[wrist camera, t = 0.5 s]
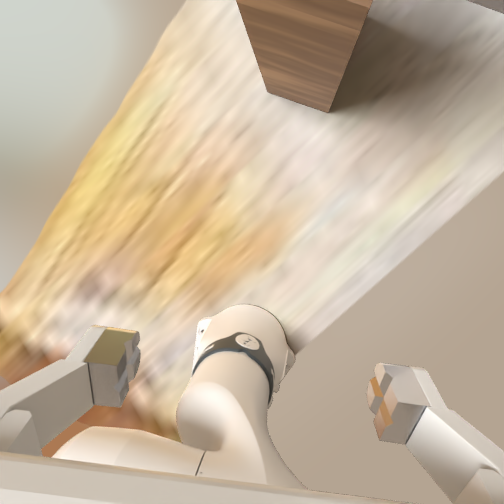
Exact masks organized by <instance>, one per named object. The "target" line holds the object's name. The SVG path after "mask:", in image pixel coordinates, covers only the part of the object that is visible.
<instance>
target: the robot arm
mask: <svg viewBox="0 0 504 504" xmlns="http://www.w3.org/2000/svg"><path fill="white" fill-rule="evenodd" d="M202 330H204V331H202ZM139 341H140V336H139V332H138V331H132V330H126V329H120V328H113V327H104V326H98V325H93V326H91V327H90V328H89V329H88V330H87V332H86V333H85V334H84V336H83V337H82V338H81V340H80V341H79V342H78V344H77V345H76V346H75V348H74V349H73V350H72V351H71V353H70V354H69V355H68V357H67V358H66V359H65V360H61V359H60V360H58V361H57V362H55V363H53V364H51V365H49V366H47V367H45V368H43V369H41V370H39V371H37V372H35V373H33V374H32V375H30V376H28V377H26V378H24V379H22V380H20V381H18V382H16V383H14V384H12V385H10V386H9V387H7V388H5V389H3V390H1V391H0V504H416V503H409V502H400V501H393V500H385V499H377V498H369V497H361V496H353V495H345V494H337V493H329V492H321V491H313V490H308V489H307V488H306V487H305V486H304V485H303V484H302V483H301V482H300V481H299V480H298V479H297V478H296V477H295V476H294V474H293V473H292V472H291V471H290V469H289V468H288V467H287V466H286V464H285V463H284V461H283V460H282V458H281V457H280V455H279V453H278V451H277V450H276V448H275V446H274V444H273V442H272V440H271V438H270V435H269V433H268V429H267V409H268V408H269V407H270V406H271V404H272V401H273V397H272V394H273V392H276V393H277V392H278V390H279V388H280V385H279V384H280V382H281V381H282V380H283V378H284V377H285V375H286V374H287V373H288V371H289V370H290V368H291V367H292V365H293V364H294V363H295V355H294V353H293V352H292V350H291V349H290V348H289V346H288V345H287V342H286V338H285V334H284V331H283V329H282V327H281V325H280V323H279V322H278V321H277V319H276V318H275V317H274V316H273V315H272V314H270V313H269V312H268V311H266V310H264V309H262V308H260V307H257V306H254V305H247V304H241V305H234V306H231V307H228V308H226V309H224V310H223V311H221V312H220V313H218V314H217V315H215V316H210V317H205V318H202V319H201V320H200V321H199V323H198V326H197V334H196V343H195V351H194V359H193V367H192V376H191V380H190V381H189V383H188V385H187V387H186V389H185V390H184V392H183V394H182V396H181V398H180V400H179V402H178V406H177V411H176V422H177V428H178V432H179V435H180V439H181V441H182V443H180V442H177V441H174V440H171V439H167V438H164V437H161V436H158V435H155V434H152V433H149V432H146V431H143V430H136V429H127V428H116V427H100V426H93V427H90V428H88V429H86V430H84V431H82V432H80V433H79V434H77V435H76V436H74V437H73V438H71V439H70V440H69V441H68V442H67V443H65V444H64V445H63V446H62V447H61V448H60V449H59V450H58V451H57V452H56V453H55V454H54V456H53V457H52V458H51V457H43V455H42V451H41V449H42V448H43V447H44V446H45V445H46V444H47V443H49V442H50V441H51V440H53V439H54V438H55V437H56V436H57V435H59V434H60V433H61V432H62V431H64V430H65V429H66V428H67V427H69V426H70V425H71V424H72V423H74V422H75V421H76V420H77V419H79V418H80V417H81V416H82V415H83V414H85V413H86V412H87V411H88V410H90V409H91V408H92V407H93V405H101V406H111V407H121V405H122V403H123V401H124V399H125V397H126V395H127V393H128V391H129V385H128V382H130V381H131V380H133V379H134V378H135V375H136V373H137V371H138V367H139V363H140V349H139V348H138V347H137V345H138V343H139ZM286 363H287V365H286ZM374 373H375V375H376V376H375V377H374V378H372V379H371V380H370V381H369V384H368V387H367V401H368V405H369V408H370V410H371V411H372V412H373V413H374V414H375V415H376V416H375V419H374V425H375V428H376V431H377V434H378V438H379V440H380V441H386V442H393V443H399V444H405V445H406V447H407V448H408V450H409V451H410V452H411V453H412V454H413V456H414V457H415V458H416V459H417V460H418V462H419V463H420V464H421V465H422V466H423V468H424V469H425V470H426V471H427V473H428V474H429V475H430V476H431V477H432V479H433V480H434V481H435V482H436V484H437V485H438V486H439V487H440V488H441V489H442V491H443V492H444V493H445V494H446V496H447V497H448V498H449V499H450V501H451V502H452V503H453V504H504V451H502V450H501V449H500V448H499V447H498V446H496V445H495V444H494V443H493V442H492V441H490V440H489V439H488V438H487V437H485V436H484V435H483V434H482V433H481V432H479V431H478V430H477V429H476V428H474V427H473V426H472V425H471V424H469V423H468V422H467V421H466V420H465V419H463V418H462V417H461V416H460V415H458V414H457V413H456V412H455V411H453V410H449V409H448V408H447V406H446V405H445V403H444V401H443V399H442V397H441V395H440V394H439V392H438V390H437V389H436V386H435V385H434V383H433V381H432V379H431V377H430V376H429V374H428V372H427V370H425V369H424V368H421V367H413V366H403V365H395V364H386V363H378V364H377V365H376V367H375V369H374Z"/></svg>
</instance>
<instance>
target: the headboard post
mask: <svg viewBox="0 0 504 504" xmlns="http://www.w3.org/2000/svg"><path fill="white" fill-rule="evenodd" d="M372 1H373V0H236V2H237V5H238V7H239V10H240V13H241V16H242V19H243V22H244V25H245V28H246V31H247V34H248V37H249V39H250V42H251V45H252V48H253V51H254V54H255V57H256V60H257V63H258V66H259V69H260V72H261V74H262V77H263V80H264V83H265V86H266V89H267V92H269V93H272V94H275V95H277V96H280V97H283V98H286V99H289V100H292V101H295V102H297V103H300V104H303V105H306V106H309V107H312V108H315V109H318V110H320V111H323V112H326V113H328V112H329V109H330V107H331V104H332V102H333V99H334V97H335V94H336V92H337V89H338V87H339V84H340V82H341V79H342V77H343V74H344V72H345V69H346V67H347V64H348V62H349V59H350V57H351V54H352V52H353V49H354V46H355V44H356V41H357V39H358V36H359V34H360V31H361V29H362V26H363V24H364V21H365V19H366V16H367V14H368V11H369V9H370V6H371V4H372Z"/></svg>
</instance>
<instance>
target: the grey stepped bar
mask: <svg viewBox="0 0 504 504" xmlns="http://www.w3.org/2000/svg"><path fill="white" fill-rule="evenodd" d="M468 1H470V2H473V3H476V4H479V5H481V6H484V7H487V8H490V9H492V10H495V11H498V12H501V13H503V14H504V0H468Z"/></svg>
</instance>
